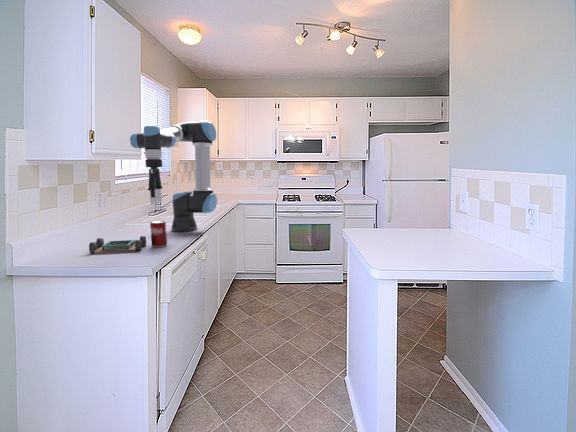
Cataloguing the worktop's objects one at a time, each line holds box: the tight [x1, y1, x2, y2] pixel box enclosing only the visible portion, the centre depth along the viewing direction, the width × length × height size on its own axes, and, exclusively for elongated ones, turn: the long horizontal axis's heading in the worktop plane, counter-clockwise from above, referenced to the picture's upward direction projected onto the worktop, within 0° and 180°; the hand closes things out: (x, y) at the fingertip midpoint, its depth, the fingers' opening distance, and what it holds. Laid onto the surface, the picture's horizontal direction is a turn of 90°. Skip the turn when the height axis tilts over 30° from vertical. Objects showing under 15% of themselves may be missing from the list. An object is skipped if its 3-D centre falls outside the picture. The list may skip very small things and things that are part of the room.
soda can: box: [149, 220, 168, 248], centre depth 192 cm, size 7×7×12 cm
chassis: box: [88, 235, 147, 255], centre depth 187 cm, size 16×22×5 cm
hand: (156, 203), depth 190 cm, fingers open, 13 cm apart
